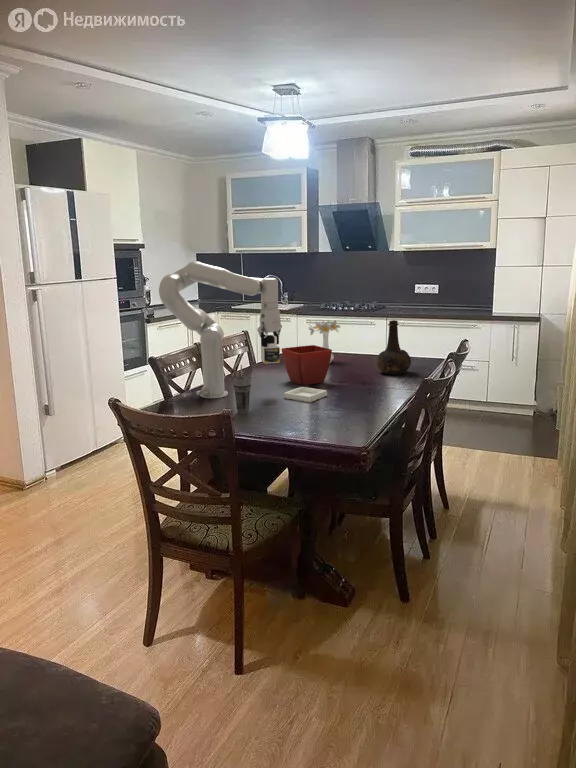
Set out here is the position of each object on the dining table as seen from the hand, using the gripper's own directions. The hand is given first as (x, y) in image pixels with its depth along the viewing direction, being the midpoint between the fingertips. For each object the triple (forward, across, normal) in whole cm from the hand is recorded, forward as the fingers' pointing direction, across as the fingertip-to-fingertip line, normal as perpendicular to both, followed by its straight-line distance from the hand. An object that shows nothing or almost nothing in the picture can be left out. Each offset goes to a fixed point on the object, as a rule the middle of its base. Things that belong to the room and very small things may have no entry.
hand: (270, 345), depth 262 cm
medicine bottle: (+8, 0, 0) cm, 8 cm away
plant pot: (+23, +30, +1) cm, 38 cm away
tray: (+23, +4, -16) cm, 28 cm away
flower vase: (+23, +78, +21) cm, 84 cm away
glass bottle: (+22, +72, -26) cm, 80 cm away
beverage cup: (+23, -31, -9) cm, 40 cm away
